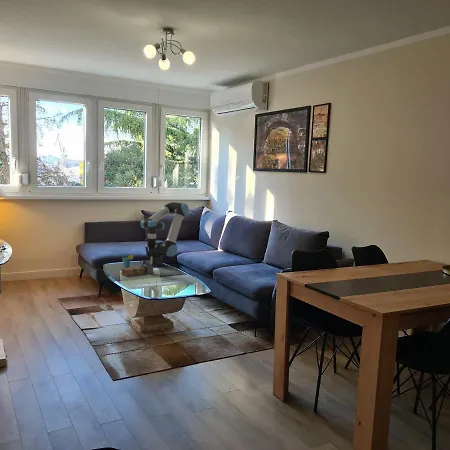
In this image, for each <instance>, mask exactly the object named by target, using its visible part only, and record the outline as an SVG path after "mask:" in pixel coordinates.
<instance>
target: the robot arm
mask: <svg viewBox="0 0 450 450" xmlns="http://www.w3.org/2000/svg"><path fill="white" fill-rule="evenodd" d="M189 211H190V208H189V205H188V204H187V203H184V202H177V201H176V202H175V201H173V202H171V201H170V202H168V203H166V204H164V205H162V207H161V208H160V209H159V210H158V211H157V212H155V213H154V214H153V215H151V216H150V217H149V218H147V219H143V220H141V221H140V227H141V228H142V229H146V230H147V239H146V240H147V242H146V243H147V244H146V245H145V246H144V248H145V252H146V253H145V254H146V257H148V260H147V261H149V262H150V265H151V266H153V267H162V266H164V260H163V256H165V257H166V256H167V257H174V256H175V255H176V254H177V253H178V245H177V242H176V241H177V239H178V235H179V231H180V228H181V225H182V222H183V220H184V219H185V218H186V217H187V216H188V215H189ZM168 215H172V216H173V219H172V222H171V226H170V227H169V231H168V233H167V234H168V235H167V238H166V239H165V240H164V242H163V240H157V231H158V232H159V231H162V230H164V229H165V223H164V221H160V220H162V219H163V218H164V217H165V216H168Z"/></svg>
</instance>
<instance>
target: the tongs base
mask: <svg viewBox="0 0 450 450" xmlns="http://www.w3.org/2000/svg"><path fill="white" fill-rule="evenodd" d="M133 268H144V267H142V266H134V267H129V268H123V267H122V268H121V273H120V274H121V275H123V276H125V275H124V269H133ZM144 274H148V273H147V268H144Z"/></svg>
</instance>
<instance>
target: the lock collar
mask: <svg viewBox="0 0 450 450" xmlns="http://www.w3.org/2000/svg"><path fill="white" fill-rule="evenodd" d="M141 267H144V268H147V273H146V274H153V273H154V266H151V265H150V262H149V261H148V260H145V264H141Z"/></svg>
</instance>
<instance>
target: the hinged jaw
mask: <svg viewBox="0 0 450 450" xmlns="http://www.w3.org/2000/svg"><path fill="white" fill-rule="evenodd" d="M143 274H144V275H145V273H144V268H133V269H124V275H123V276H124V277H127V276H135V275H136V276H137V275H143Z"/></svg>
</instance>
